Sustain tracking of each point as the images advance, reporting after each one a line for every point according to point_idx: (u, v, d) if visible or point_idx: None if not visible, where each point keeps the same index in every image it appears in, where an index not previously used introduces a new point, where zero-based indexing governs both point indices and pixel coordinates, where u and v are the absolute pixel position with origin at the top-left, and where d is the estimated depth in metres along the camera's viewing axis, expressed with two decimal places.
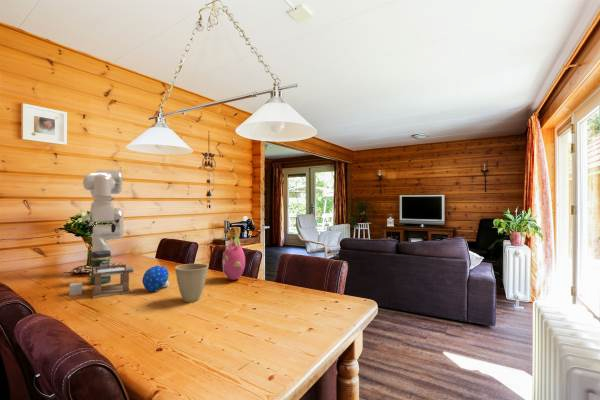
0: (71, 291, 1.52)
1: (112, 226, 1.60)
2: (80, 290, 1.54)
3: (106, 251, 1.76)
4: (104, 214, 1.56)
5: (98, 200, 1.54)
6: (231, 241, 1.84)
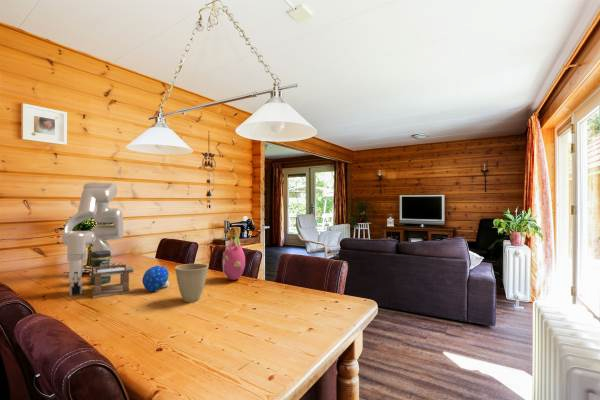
0: (71, 291, 1.52)
1: None
2: (80, 290, 1.54)
3: (106, 251, 1.76)
4: None
5: (83, 258, 1.55)
6: (231, 241, 1.84)
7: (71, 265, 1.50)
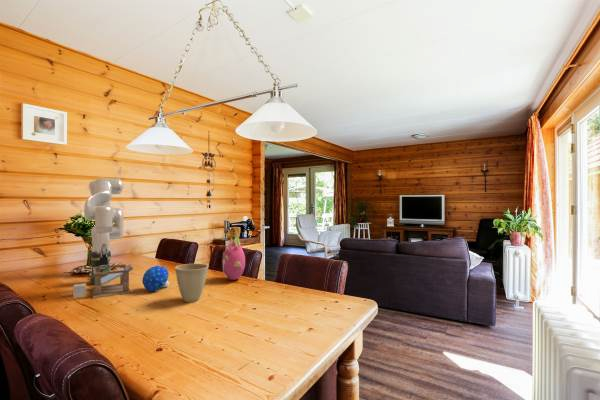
0: (84, 289, 1.52)
1: None
2: (74, 291, 1.50)
3: None
4: None
5: (110, 231, 1.58)
6: (231, 241, 1.84)
7: (99, 237, 1.54)
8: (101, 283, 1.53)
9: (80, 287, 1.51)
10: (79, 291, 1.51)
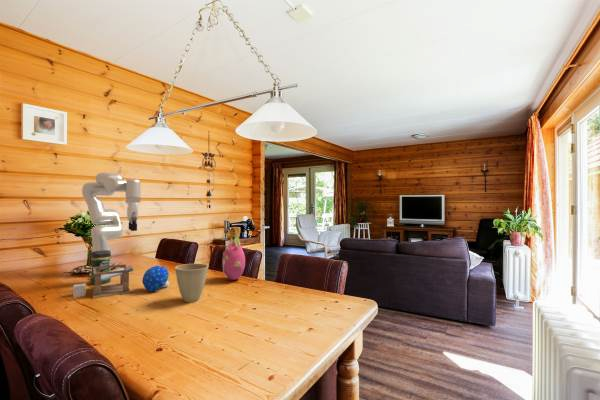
0: (84, 289, 1.52)
1: None
2: (74, 290, 1.50)
3: (106, 251, 1.76)
4: None
5: (139, 201, 1.76)
6: (231, 241, 1.84)
7: (130, 206, 1.72)
8: None
9: (80, 287, 1.51)
10: (79, 291, 1.51)
